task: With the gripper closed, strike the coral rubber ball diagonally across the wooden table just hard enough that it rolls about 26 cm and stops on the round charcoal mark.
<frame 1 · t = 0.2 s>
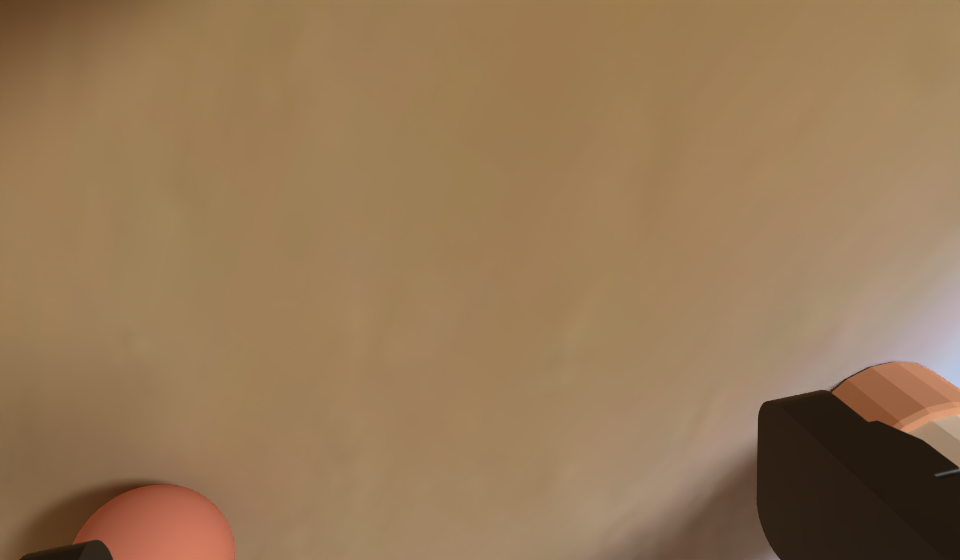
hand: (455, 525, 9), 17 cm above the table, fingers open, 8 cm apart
pepper shaker: (872, 429, 33), on the table
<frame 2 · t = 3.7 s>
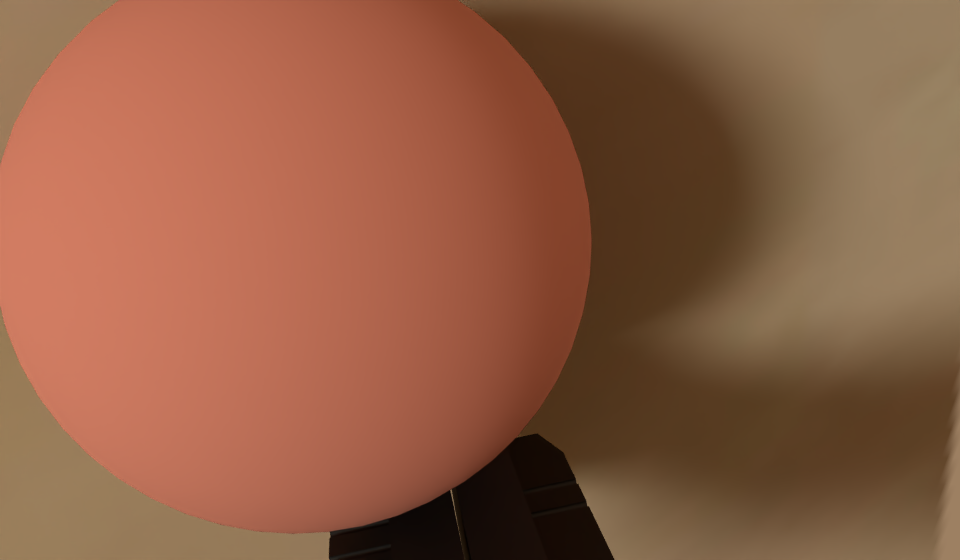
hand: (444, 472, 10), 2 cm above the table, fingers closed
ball: (317, 246, 7), on the table, touching gripper
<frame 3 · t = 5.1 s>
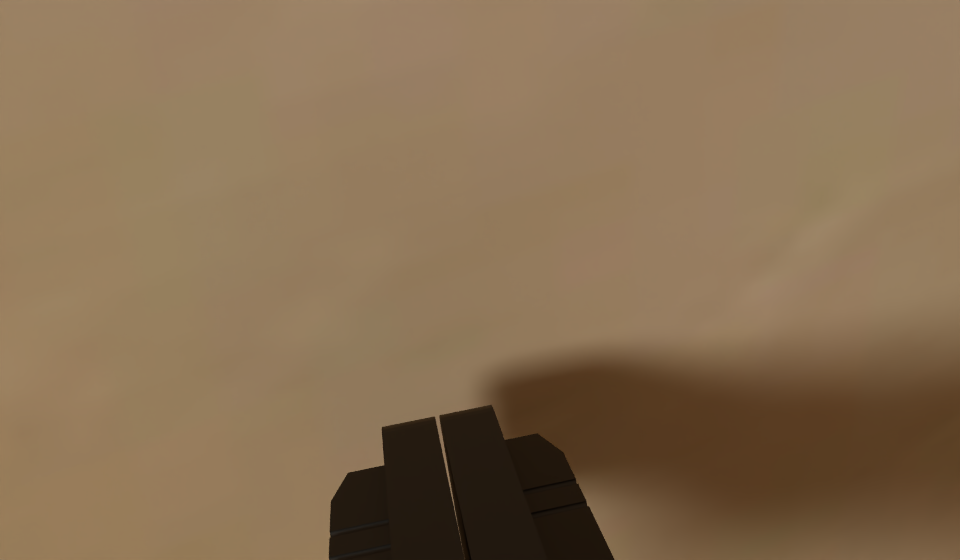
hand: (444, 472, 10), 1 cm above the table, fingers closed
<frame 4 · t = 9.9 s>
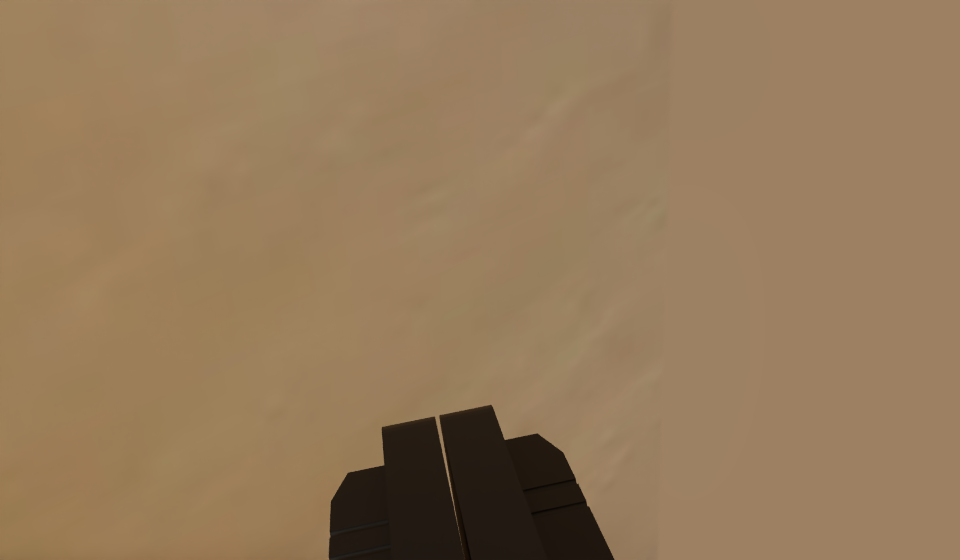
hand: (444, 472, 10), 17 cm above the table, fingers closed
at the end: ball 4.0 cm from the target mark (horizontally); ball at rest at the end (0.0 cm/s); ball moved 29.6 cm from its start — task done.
